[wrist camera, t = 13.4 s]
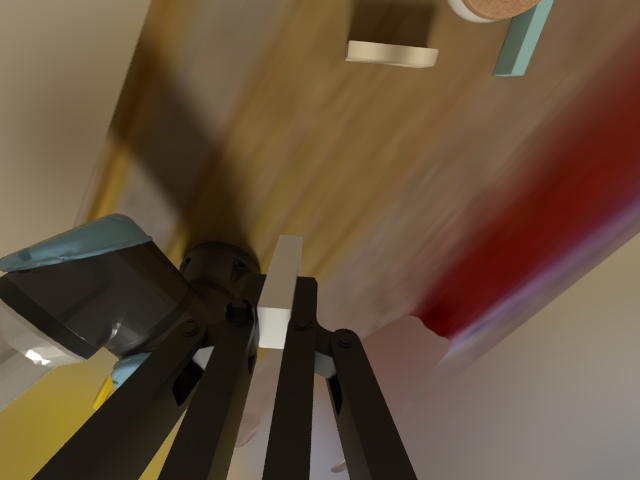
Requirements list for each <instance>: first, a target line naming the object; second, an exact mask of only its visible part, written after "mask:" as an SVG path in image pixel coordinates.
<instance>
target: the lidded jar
mask: <svg viewBox="0 0 640 480" xmlns="http://www.w3.org/2000/svg"><path fill="white" fill-rule="evenodd" d="M447 1H448V3H449V5H450V6H451V8H452V10H453V11H454V12H455V13H456V14H457V15H458V16H460V17H461V18H463V19H465V20H468V21H471V22H477V23H486V22H493V21H498V20H502V19H507V18H511V17H513V16H516V15H519V14H521V13H523V12H525V11H527V10H529V9H530V8H532V7H533V6H535V5H536V4H538V3H539V2H540V1H542V0H447Z"/></svg>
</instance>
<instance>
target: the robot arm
mask: <svg viewBox="0 0 640 480" xmlns="http://www.w3.org/2000/svg"><path fill="white" fill-rule="evenodd" d="M152 240H153V238H152V237H151V236H148V235H147V234H146V233H145V232H144V231H143V230H142V229H141V228H140V227H139V226H138V225H137V224H136V223H135V222H134V221H133V220H132V219H131V218H129V217H128V216H125V215H122V214H110V215H107V216H104V217H101V218H99V219H96V220H94V221H91V222H88V223H86V224H83V225H81V226H78V227H76V228H73V229H71V230H68V231H66V232H63V233H61V234H58V235H56V236H53V237H51V238H49V239H46V240H44V241H41V242H39V243H36V244H34V245H31V246H29V247H27V248H24V249H22V250H19V251H17V252H14V253H12V254H9V255H7V256H5V257H2V258H1V259H0V270H1V271H3V272H8V273H6V274H5V275H3V276H2V277H0V412H1V411H2V410H3V409H4V408H5V407H7V406H8V405H9V404H10V403H12V402H13V401H14V400H15V399H16V398H18V397H19V396H20V395H21V394H23V393H24V392H25V391H26V390H28V389H29V388H30V387H31V386H33V385H34V384H35V383H36V382H38V381H39V380H40V379H41V378H43V377H44V376H45V375H46V374H48V373H49V372H50V371H51V370H52V369H54V368H55V367H58V366H61V365H66V364H73V363H79V362H85V361H86V360H88V359H89V358H90V357H91V356H92V355H94V354H95V353H96V352H97V351H98V350H99V349H101V348H102V347H105V348H106V349H107V350H109V351H110V352H111V353H113V354H114V355H115V356H116V357H118V358H119V361H118V362H116V364H115V365H114V366H113V371H112V373H111V379H112V382H113V384H114V385H115V387H117V388H118V389H117V390H116V391H115V392H114V393H113V394H112V395H111V396H110V397H109V398H108V399H107V400H106V401H105V402H104V403H103V405H102V406H101V407H100V408H99V409H98V410H97V411H96V412H95V413H94V414H93V415H92V416H91V417H90V418H89V419H88V420H87V421H86V423H84V425H83V426H82V427H81V428H80V429H79V430H78V431H77V432H76V433H75V434H74V435H73V436H72V437H71V438H70V439H69V440H68V441H67V442H66V443H65V444H64V446H63V447H62V448H61V449H60V450H59V451H58V452H57V453H56V454H55V455H54V456H53V457H52V458H51V459H50V460H49V461H48V463H47V464H45V466H44V467H43V468H42V469H41V470H40V471H39V472H38V473H37V474H36V475H35V476H34V477H33V478H32V479H31V480H138V479H139V478H140V476H141V475H142V473H143V472H144V470H145V469H146V467H147V466H148V464H149V463H150V461H151V460H152V458H153V457H154V455H155V454H156V453H157V451H158V450H159V448H160V447H161V445H162V444H163V442H164V441H165V439H166V437H167V436H168V435H169V433H170V432H171V430H172V429H173V427H174V426H175V424H176V423H177V421H178V420H179V418H180V417H181V416H182V414H183V413H184V411H185V410H186V408H187V407H188V405H189V407H188V409H187V411H186V414H185V416H184V419H183V421H182V423H181V425H180V428H179V430H178V432H177V435H176V437H175V439H174V442H173V444H172V447H171V449H170V451H169V454H168V456H167V458H166V461H165V463H164V465H163V468H162V470H161V472H160V475H159V477H158V479H157V480H226V478H227V474H228V470H229V466H230V462H231V458H232V454H233V450H234V446H235V442H236V438H237V434H238V430H239V427H240V423H241V419H242V415H243V411H244V407H245V403H246V399H247V395H248V391H249V387H250V383H251V379H252V375H253V371H254V367H255V363H256V359H257V347H258V343H259V347H264V348H278V349H284V350H283V356H282V362H281V368H280V374H279V380H278V386H277V392H276V398H275V404H274V410H273V416H272V423H271V428H270V435H269V441H268V447H267V453H266V459H265V465H264V471H263V477H262V480H309V473H310V453H311V430H312V409H313V387H314V373H316V374H319V375H321V376H323V377H325V379H326V382H327V387H328V391H329V395H330V399H331V403H332V407H333V412H334V416H335V420H336V423H337V428H338V432H339V436H340V440H341V444H342V448H343V452H344V457H345V461H346V465H347V469H348V473H349V477H350V480H417V477H416V475H415V472H414V470H413V468H412V465H411V463H410V460H409V458H408V455H407V453H406V451H405V448H404V446H403V443H402V441H401V438H400V436H399V434H398V431H397V429H396V426H395V424H394V421H393V419H392V416H391V414H390V412H389V409H388V407H387V404H386V402H385V399H384V397H383V395H382V392H381V390H380V387H379V385H378V382H377V380H376V378H375V375H374V373H373V370H372V368H371V366H370V363H369V361H368V358H367V356H366V353H365V351H364V348H363V346H362V344H361V341H360V339H359V337H358V336H357V334H356V333H354V332H353V331H351V330H349V329H338V330H336V331H335V332H331V331H328V330H326V329H324V328H323V327H321V326H320V325H319V323H318V322H317V319H316V310H317V287H318V284H317V282H316V280H315V278H312V277H300V271H301V254H302V236H291V235H279V239H278V242H277V245H276V248H275V251H274V254H273V258H272V261H271V264H270V267H269V270H268V274H267V275H266V274H260V271H259V268H258V266H257V264H256V263H255V262H254V260H253V259H252V258H251V257H250V256H249V255H248V254H247V253H245V252H244V251H242V250H241V249H239V248H237V247H235V246H232V245H229V244H225V243H219V242H211V243H205V244H201V245H199V246H197V247H195V248H193V249H192V250H191V251H190V252H189V253H188V254H187V256H186V257H185V258H184V259H183V261H182V263H181V265H180V268H179V270H178V269H177V268H176V267H175V266H174V265H173V264H172V263H171V261H170V260H169V259H168V258H167V257H166V256H165V255H164V253H163V252H162V251H161V250H160V249H159V248H158V247H157V245H156V244H155V243H154V242H153V241H152Z"/></svg>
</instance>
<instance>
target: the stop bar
mask: <svg viewBox="0 0 640 480" xmlns="http://www.w3.org/2000/svg"><path fill="white" fill-rule="evenodd" d="M553 1H554V0H542V1H540V2H539V3H538V4H536V5H535V6H533V7H532V8H530V9H529V10H527V11H525V12H523V13H521V14H519V15H516V16H513V19H512V22H511V25H510V28H509V30H508V33H507V36H506V39H505V42H504V44H503V47H502V50H501V53H500V56H499V59H498V61H497V64H496V67H495V70H494V73H493V75H495V76H521V75H524V73H525V70H526V68H527V65H528V63H529V60H530V58H531V55H532V53H533V50H534V48H535V45H536V43H537V41H538V38H539V36H540V33H541V31H542V28H543V26H544V23H545V21H546V18H547V16H548V13H549V11H550V8H551V6H552V4H553Z"/></svg>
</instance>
